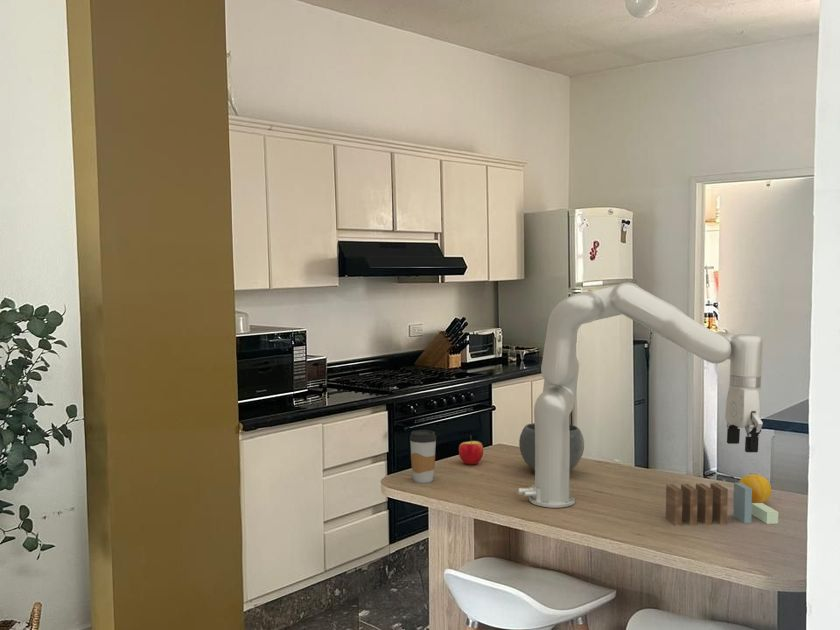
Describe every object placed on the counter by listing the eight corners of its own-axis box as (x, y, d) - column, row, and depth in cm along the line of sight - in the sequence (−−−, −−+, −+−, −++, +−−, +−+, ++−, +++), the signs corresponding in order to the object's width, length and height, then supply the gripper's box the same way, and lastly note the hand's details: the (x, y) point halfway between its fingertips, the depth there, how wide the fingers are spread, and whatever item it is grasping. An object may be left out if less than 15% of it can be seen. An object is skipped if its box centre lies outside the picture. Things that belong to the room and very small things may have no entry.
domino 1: (674, 525, 204) (675, 490, 203) (665, 518, 210) (666, 484, 209) (681, 525, 204) (682, 490, 203) (672, 517, 210) (672, 484, 209)
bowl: (589, 481, 247) (590, 433, 246) (523, 480, 247) (523, 432, 246) (577, 465, 267) (578, 420, 266) (516, 465, 267) (516, 420, 266)
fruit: (731, 500, 226) (731, 472, 225) (752, 497, 229) (753, 469, 228) (755, 509, 218) (756, 480, 217) (777, 505, 221) (778, 477, 220)
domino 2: (690, 524, 204) (690, 490, 204) (680, 517, 210) (681, 483, 210) (696, 524, 204) (697, 489, 204) (687, 517, 210) (687, 483, 210)
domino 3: (705, 524, 204) (705, 489, 204) (695, 517, 210) (695, 483, 210) (712, 524, 205) (712, 489, 204) (701, 517, 211) (702, 483, 210)
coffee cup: (441, 479, 249) (441, 431, 248) (427, 485, 242) (427, 436, 241) (418, 475, 253) (418, 428, 252) (404, 481, 246) (404, 433, 245)
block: (766, 523, 205) (767, 512, 205) (751, 514, 213) (751, 503, 213) (778, 523, 205) (778, 512, 205) (762, 514, 213) (762, 503, 213)
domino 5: (744, 523, 205) (745, 488, 205) (733, 516, 211) (734, 482, 211) (751, 523, 205) (751, 488, 205) (739, 516, 211) (740, 482, 211)
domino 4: (720, 524, 205) (720, 489, 204) (709, 516, 211) (710, 483, 210) (727, 523, 205) (727, 489, 204) (716, 516, 211) (717, 483, 210)
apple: (457, 466, 265) (457, 436, 265) (460, 460, 274) (460, 431, 273) (482, 467, 264) (482, 437, 263) (484, 461, 272) (484, 432, 272)
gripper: (715, 377, 215) (713, 440, 216) (747, 387, 197) (744, 455, 199) (742, 377, 215) (739, 440, 216) (776, 387, 198) (773, 455, 199)
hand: (741, 447), depth 207 cm, fingers open, 9 cm apart
